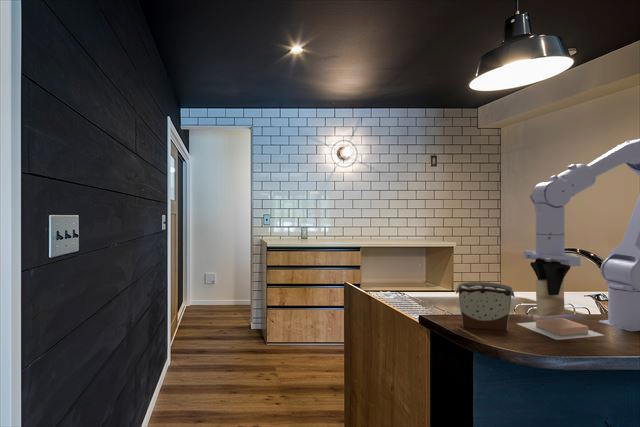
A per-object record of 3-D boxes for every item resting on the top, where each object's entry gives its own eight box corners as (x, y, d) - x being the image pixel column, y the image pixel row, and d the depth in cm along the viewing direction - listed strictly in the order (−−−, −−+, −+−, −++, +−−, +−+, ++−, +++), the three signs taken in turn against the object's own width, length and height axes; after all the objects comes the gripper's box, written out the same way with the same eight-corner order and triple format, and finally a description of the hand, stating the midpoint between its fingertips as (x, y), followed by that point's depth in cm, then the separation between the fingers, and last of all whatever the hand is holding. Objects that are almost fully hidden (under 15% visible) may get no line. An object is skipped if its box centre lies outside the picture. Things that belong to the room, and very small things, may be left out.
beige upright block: (559, 312, 93) (557, 278, 93) (564, 314, 92) (563, 279, 92) (536, 315, 92) (535, 280, 92) (542, 316, 90) (540, 281, 90)
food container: (509, 325, 95) (509, 282, 94) (514, 333, 89) (514, 287, 89) (454, 321, 98) (454, 280, 98) (455, 328, 92) (455, 285, 92)
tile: (561, 317, 93) (588, 326, 86) (561, 324, 93) (588, 333, 86) (536, 319, 91) (560, 328, 84) (536, 326, 91) (560, 336, 85)
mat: (559, 322, 97) (559, 320, 97) (604, 337, 85) (604, 335, 85) (515, 325, 94) (515, 323, 94) (556, 342, 82) (556, 339, 82)
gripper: (512, 232, 98) (512, 288, 98) (560, 236, 84) (560, 301, 84) (537, 232, 99) (537, 287, 100) (588, 236, 85) (588, 299, 85)
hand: (549, 293), depth 92 cm, fingers closed on beige upright block, 2 cm apart
